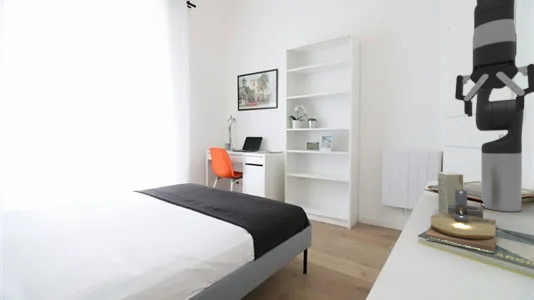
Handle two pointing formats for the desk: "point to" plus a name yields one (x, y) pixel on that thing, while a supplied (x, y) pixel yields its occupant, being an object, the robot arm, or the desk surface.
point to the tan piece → (478, 243)
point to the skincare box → (448, 188)
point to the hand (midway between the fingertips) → (492, 115)
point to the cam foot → (462, 221)
